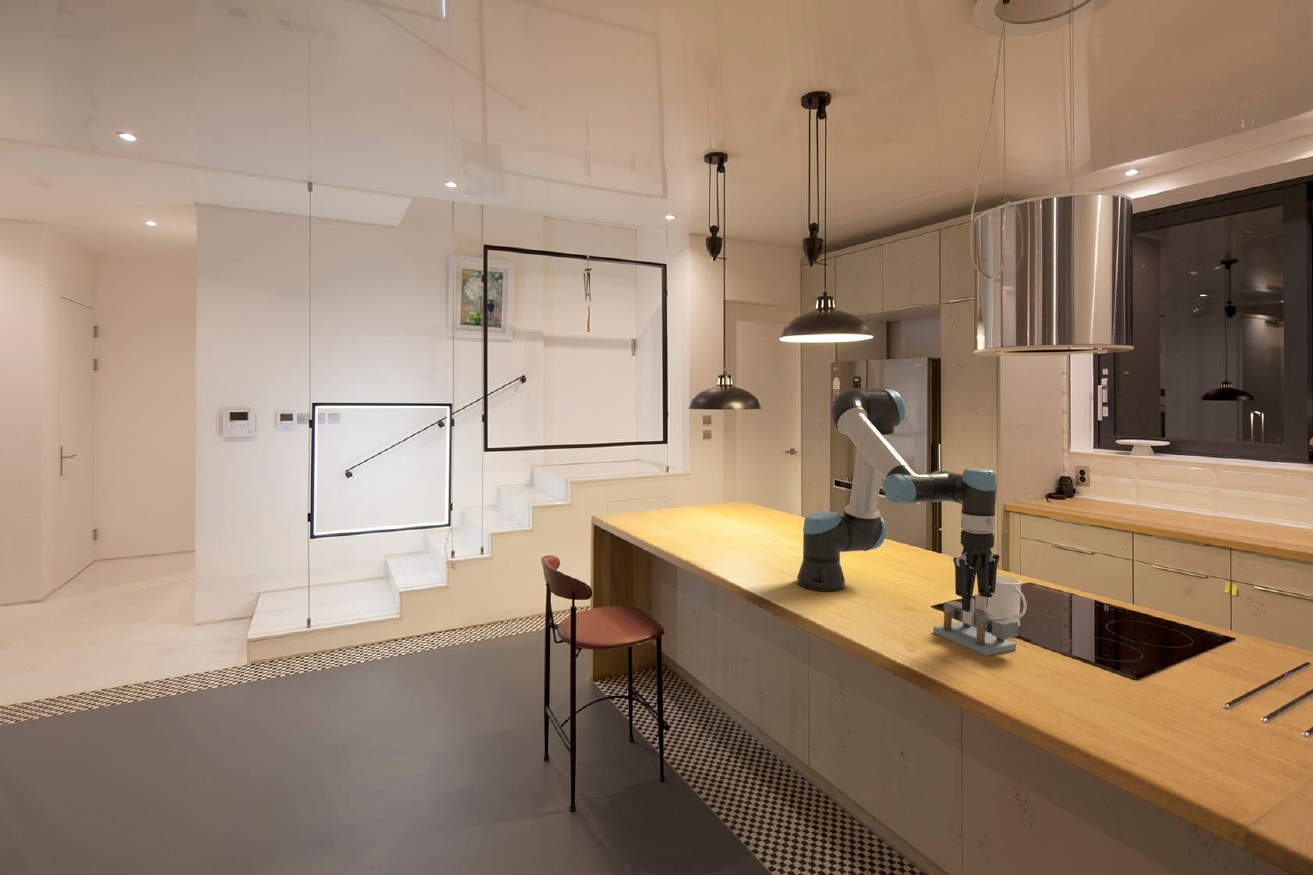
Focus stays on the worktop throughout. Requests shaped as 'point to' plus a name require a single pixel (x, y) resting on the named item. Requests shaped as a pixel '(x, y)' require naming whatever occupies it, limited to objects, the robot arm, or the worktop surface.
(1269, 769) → the worktop surface
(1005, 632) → the spanner bar
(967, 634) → the peg rack
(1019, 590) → the mug
